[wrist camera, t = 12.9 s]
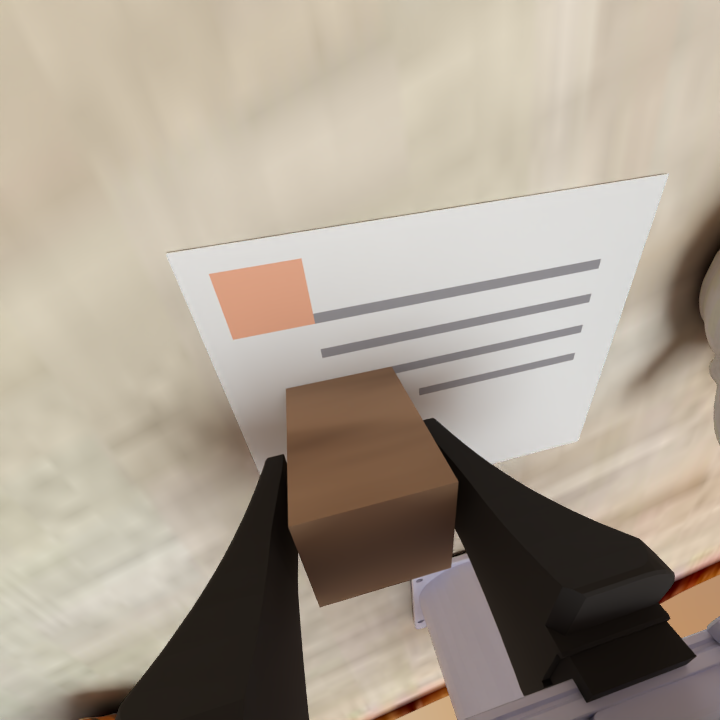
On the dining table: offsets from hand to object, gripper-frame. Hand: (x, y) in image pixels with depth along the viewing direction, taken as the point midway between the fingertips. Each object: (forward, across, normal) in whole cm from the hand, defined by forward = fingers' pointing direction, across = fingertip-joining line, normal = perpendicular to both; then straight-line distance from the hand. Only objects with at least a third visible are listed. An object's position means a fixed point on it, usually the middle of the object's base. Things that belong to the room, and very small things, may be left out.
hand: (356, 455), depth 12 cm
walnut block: (+2, 0, 0) cm, 2 cm away
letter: (+2, -4, -1) cm, 5 cm away
